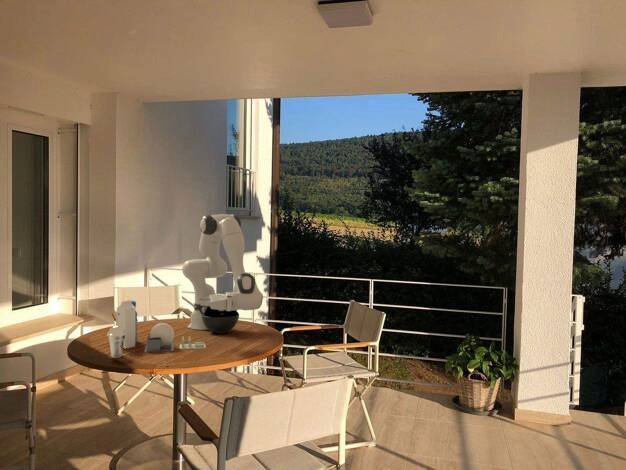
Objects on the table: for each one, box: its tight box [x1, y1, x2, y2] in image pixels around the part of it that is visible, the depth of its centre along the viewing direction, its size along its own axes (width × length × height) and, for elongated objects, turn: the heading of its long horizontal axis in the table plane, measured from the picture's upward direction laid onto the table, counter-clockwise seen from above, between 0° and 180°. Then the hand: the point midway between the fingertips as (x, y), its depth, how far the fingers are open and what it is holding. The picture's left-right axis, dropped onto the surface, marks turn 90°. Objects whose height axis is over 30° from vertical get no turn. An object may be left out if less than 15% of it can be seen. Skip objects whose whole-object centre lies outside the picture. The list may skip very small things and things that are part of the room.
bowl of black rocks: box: [202, 306, 240, 334], centre depth 286 cm, size 20×20×19 cm
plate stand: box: [179, 336, 207, 350], centre depth 250 cm, size 9×12×5 cm
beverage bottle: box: [131, 300, 139, 343], centre depth 262 cm, size 8×8×20 cm
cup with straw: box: [106, 312, 127, 359], centre depth 233 cm, size 8×9×20 cm
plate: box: [149, 322, 175, 347], centre depth 247 cm, size 2×11×11 cm, turn 104°
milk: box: [116, 299, 136, 350], centre depth 251 cm, size 6×6×22 cm
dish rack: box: [143, 332, 176, 353], centre depth 247 cm, size 16×13×6 cm
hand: (199, 301), depth 251 cm, fingers open, 8 cm apart
